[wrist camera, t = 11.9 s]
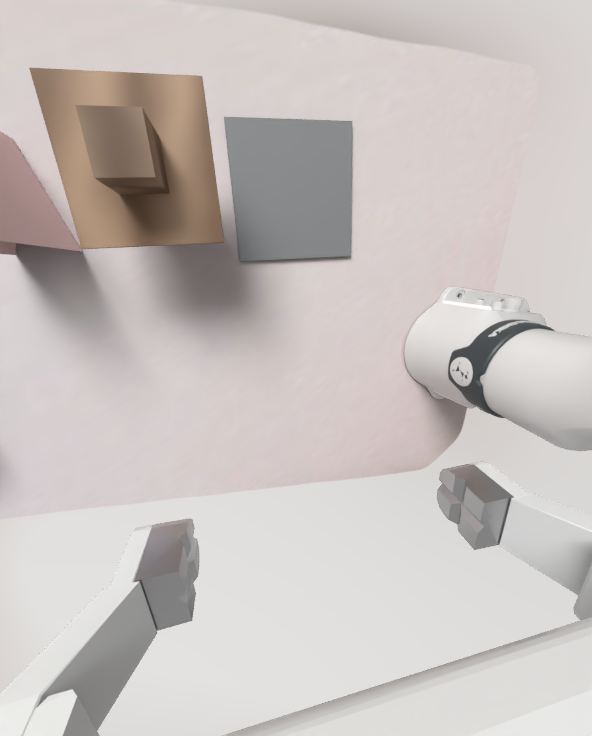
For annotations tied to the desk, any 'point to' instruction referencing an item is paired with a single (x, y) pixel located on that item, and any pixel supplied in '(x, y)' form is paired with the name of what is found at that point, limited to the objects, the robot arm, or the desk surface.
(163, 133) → the walnut lid
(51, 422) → the desk surface
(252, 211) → the rubber mat
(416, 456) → the desk surface
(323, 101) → the desk surface
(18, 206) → the greeting card
